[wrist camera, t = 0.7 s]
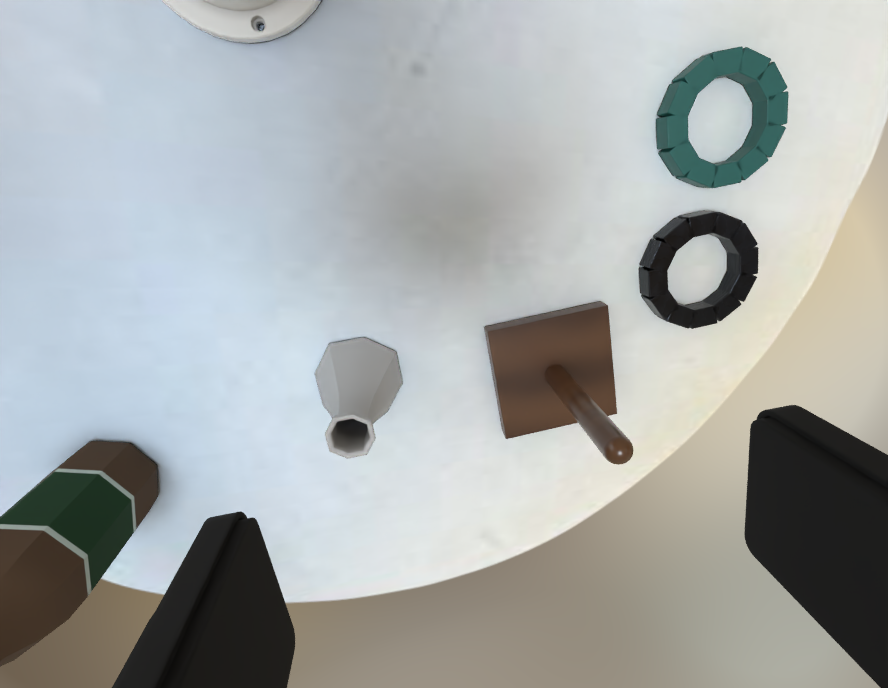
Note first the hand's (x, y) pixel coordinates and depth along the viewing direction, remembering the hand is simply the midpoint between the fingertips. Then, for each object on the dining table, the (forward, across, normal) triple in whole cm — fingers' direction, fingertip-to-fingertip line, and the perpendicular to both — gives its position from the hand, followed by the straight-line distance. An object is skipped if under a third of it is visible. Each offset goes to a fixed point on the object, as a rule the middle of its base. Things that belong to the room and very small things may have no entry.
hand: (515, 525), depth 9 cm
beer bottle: (+31, +28, +13) cm, 44 cm away
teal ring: (+31, -24, -7) cm, 40 cm away
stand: (+31, -9, +11) cm, 34 cm away
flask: (+31, +7, +8) cm, 33 cm away
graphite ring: (+31, -22, +4) cm, 38 cm away
